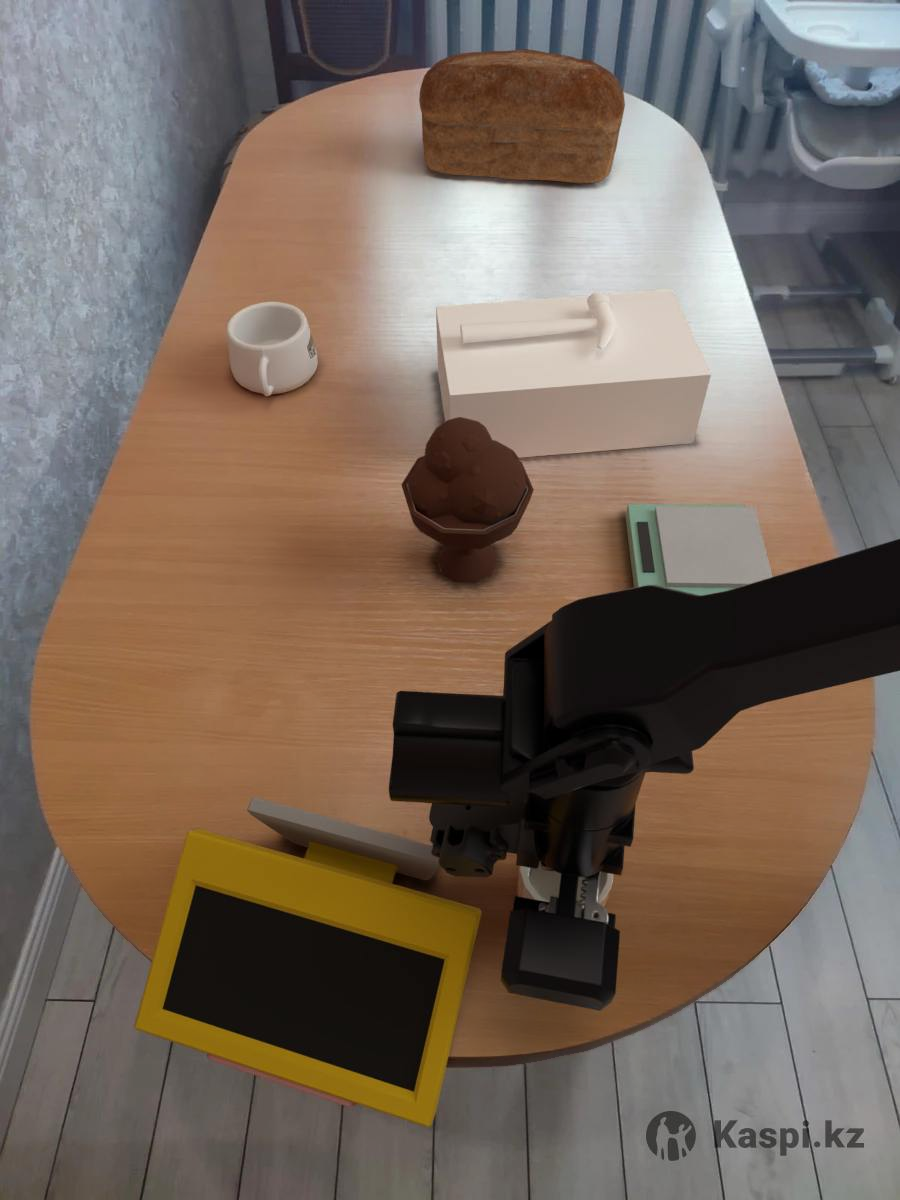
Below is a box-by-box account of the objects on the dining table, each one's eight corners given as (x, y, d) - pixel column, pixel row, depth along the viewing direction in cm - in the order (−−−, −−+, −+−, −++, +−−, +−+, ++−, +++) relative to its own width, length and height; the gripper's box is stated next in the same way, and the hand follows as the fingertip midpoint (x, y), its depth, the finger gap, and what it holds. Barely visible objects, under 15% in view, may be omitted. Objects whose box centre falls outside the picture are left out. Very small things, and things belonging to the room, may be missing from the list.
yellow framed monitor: (493, 860, 57) (422, 1138, 50) (495, 883, 63) (433, 1130, 57) (206, 782, 60) (103, 1031, 53) (239, 812, 67) (151, 1036, 60)
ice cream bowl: (390, 588, 81) (376, 465, 69) (437, 505, 87) (432, 379, 75) (500, 622, 78) (506, 500, 66) (541, 534, 84) (552, 409, 73)
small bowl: (608, 858, 63) (617, 831, 59) (601, 944, 59) (609, 921, 56) (524, 844, 64) (527, 816, 60) (511, 928, 60) (514, 903, 56)
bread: (430, 141, 134) (426, 35, 123) (618, 153, 131) (632, 44, 119) (415, 181, 127) (409, 71, 115) (613, 194, 123) (628, 82, 112)
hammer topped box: (693, 443, 92) (716, 354, 83) (451, 463, 90) (449, 375, 82) (658, 357, 101) (676, 269, 92) (438, 374, 99) (435, 286, 91)
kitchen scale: (747, 518, 85) (753, 500, 83) (769, 609, 78) (776, 592, 76) (625, 516, 85) (628, 499, 84) (636, 607, 79) (640, 590, 77)
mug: (239, 344, 103) (228, 298, 99) (322, 343, 103) (315, 297, 99) (223, 412, 96) (211, 366, 91) (313, 410, 96) (305, 364, 91)
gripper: (469, 624, 55) (469, 747, 67) (402, 925, 44) (417, 1007, 56) (651, 650, 54) (618, 771, 66) (631, 968, 42) (596, 1043, 54)
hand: (562, 886), depth 61 cm, fingers closed on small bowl, 6 cm apart
